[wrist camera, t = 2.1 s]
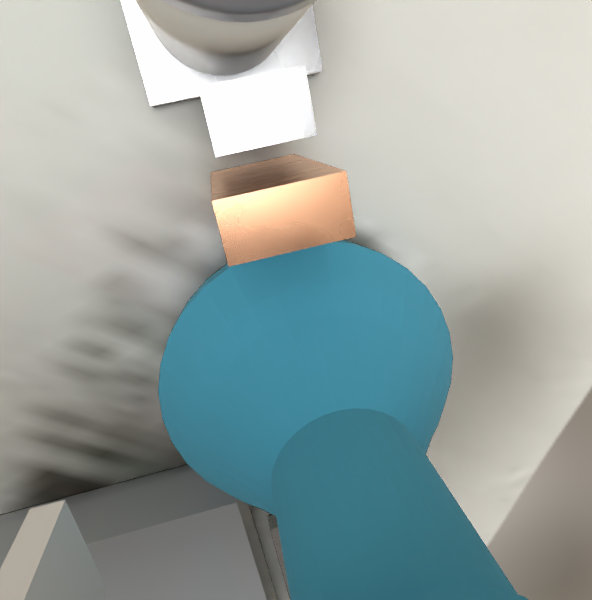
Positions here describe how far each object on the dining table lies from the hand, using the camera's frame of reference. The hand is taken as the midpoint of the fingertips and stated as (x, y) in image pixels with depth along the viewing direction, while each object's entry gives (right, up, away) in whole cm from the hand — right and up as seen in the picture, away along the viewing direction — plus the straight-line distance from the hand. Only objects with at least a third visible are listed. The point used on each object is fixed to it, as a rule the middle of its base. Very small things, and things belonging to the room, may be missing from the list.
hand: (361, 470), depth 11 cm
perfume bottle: (-2, +3, +8) cm, 9 cm away
